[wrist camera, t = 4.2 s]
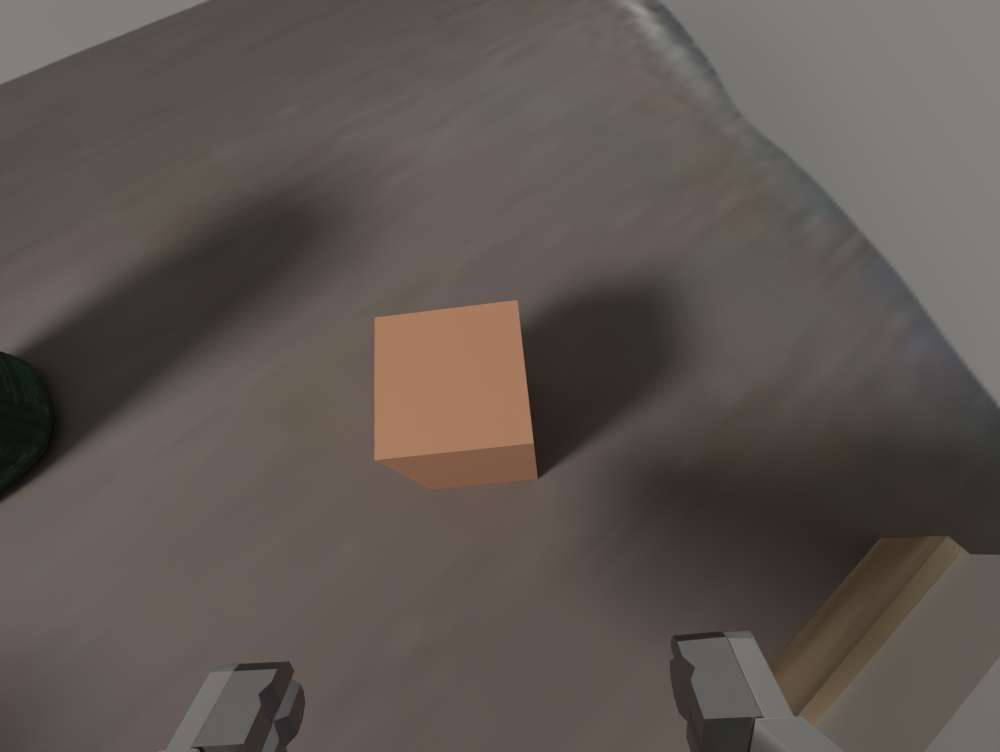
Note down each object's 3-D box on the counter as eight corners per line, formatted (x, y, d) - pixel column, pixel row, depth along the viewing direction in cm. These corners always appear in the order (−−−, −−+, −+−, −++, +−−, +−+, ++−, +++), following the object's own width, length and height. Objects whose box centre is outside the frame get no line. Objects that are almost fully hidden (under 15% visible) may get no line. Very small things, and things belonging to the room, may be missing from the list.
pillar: (537, 479, 22) (533, 443, 15) (431, 489, 23) (374, 460, 15) (526, 377, 24) (517, 300, 17) (427, 389, 24) (374, 317, 17)
